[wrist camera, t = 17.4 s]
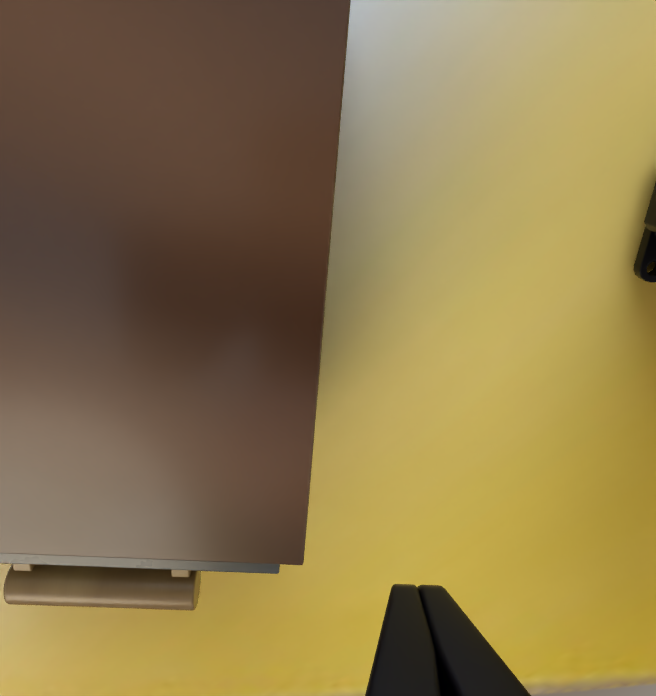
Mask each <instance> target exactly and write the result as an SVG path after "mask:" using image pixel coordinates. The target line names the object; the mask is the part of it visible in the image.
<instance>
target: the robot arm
mask: <svg viewBox="0 0 656 696" xmlns="http://www.w3.org/2000/svg"><path fill="white" fill-rule="evenodd" d="M644 222H645V225H646V227H645V230H644V234H643V237H642V240H641V244H640V247H639V250H638V254H637V257H636V261H635V264H634V272H635V275H636V276H638V277H639V278H640V279H643V280H645V281H648V282H656V183H655V186H654V190H653V193H652V197H651V200H650V204H649V207H648V210H647V214H646V217H645V221H644ZM652 262H655V266H654V268H653V270H651V271H650V272H647V267H648V265H649V264H650V263H652ZM365 696H531V695H530V694H529V693H528V691H527V690H526V689H525V688H524V686H523V685H522V684H521V683H520V681H519V680H518V679H517V678H516V676H515V675H514V674H513V673H512V671H511V670H510V669H509V668H508V667H507V665H506V664H505V663H504V662H503V660H502V659H501V658H500V657H499V655H498V654H497V653H496V652H495V650H494V649H493V648H492V647H491V645H490V644H489V643H488V642H487V640H486V639H485V638H484V637H483V636H482V634H481V633H480V632H479V631H478V629H477V628H476V627H475V626H474V624H473V623H472V622H471V621H470V619H469V618H468V617H467V616H466V614H465V613H464V612H463V611H462V609H461V608H460V607H459V606H458V605H457V603H456V602H455V601H454V600H453V598H452V597H451V596H450V595H449V593H448V592H447V591H446V590H445V589H444V588H443V587H442V586H438V585H420V586H418V587H416V586H415V585H409V584H394V585H393V586H392V588H391V592H390V596H389V600H388V604H387V608H386V612H385V616H384V620H383V624H382V629H381V633H380V637H379V641H378V645H377V649H376V653H375V657H374V662H373V666H372V670H371V674H370V678H369V682H368V686H367V690H366V694H365Z"/></svg>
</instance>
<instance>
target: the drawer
mask: <svg viewBox="0 0 656 696" xmlns="http://www.w3.org/2000/svg"><path fill="white" fill-rule="evenodd" d="M0 563H10V564H12V565H11V567H10V569H9V571H8V573H7V576H6V580H5V584H4V599H5V601H6V602H7V603H8V604H18V605H48V606H77V607H106V608H136V609H165V610H195V608H196V606H197V603H198V598H199V592H200V583H201V571H219V572H245V573H271V574H278V573H279V567H280V564H261V563H236V562H211V561H185V560H160V559H134V558H109V557H84V556H58V555H33V554H7V553H0Z"/></svg>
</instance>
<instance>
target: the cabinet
mask: <svg viewBox="0 0 656 696" xmlns="http://www.w3.org/2000/svg"><path fill="white" fill-rule="evenodd" d="M349 12H350V0H0V553H7V554H33V555H58V556H84V557H109V558H134V559H160V560H185V561H211V562H236V563H261V564H287V565H303V562H304V550H305V538H306V527H307V515H308V503H309V491H310V479H311V467H312V455H313V443H314V431H315V419H316V407H317V395H318V383H319V371H320V359H321V347H322V335H323V323H324V311H325V299H326V287H327V275H328V263H329V251H330V239H331V227H332V215H333V203H334V191H335V179H336V168H337V156H338V144H339V132H340V120H341V108H342V96H343V84H344V72H345V60H346V48H347V36H348V24H349Z"/></svg>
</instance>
